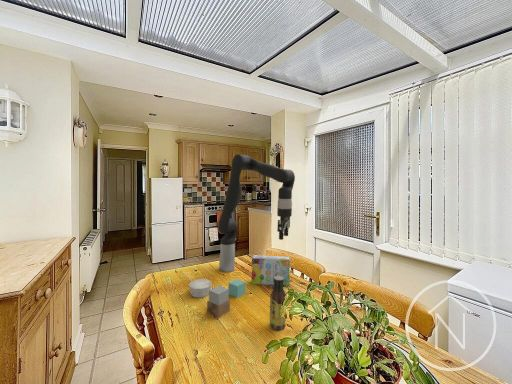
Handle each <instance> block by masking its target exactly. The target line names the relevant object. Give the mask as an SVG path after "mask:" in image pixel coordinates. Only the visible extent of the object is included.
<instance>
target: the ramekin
mask: <svg viewBox="0 0 512 384" xmlns="http://www.w3.org/2000/svg"><path fill="white" fill-rule="evenodd" d="M212 284H213V283H212V281H211V280H210V279H206V278H198V279H194V280H192V281H190V283H189V285H188V287H189V291H190V295H191V296H192V297H193V298H205V297H207V296H209V290H211V289H212V288H211V287H212Z"/></svg>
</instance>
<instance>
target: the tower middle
mask: <svg viewBox="0 0 512 384" xmlns="http://www.w3.org/2000/svg"><path fill="white" fill-rule="evenodd" d="M229 296H230V295H229V288H227V287H224V286H222V285H217V286H214V287H213V288H211V289H210V290H209V294H208V301H209V302H211V303H213V304H216V305H218V306H220V305H221V304H223V303H225V302H226V301H228V300H230V299H229Z"/></svg>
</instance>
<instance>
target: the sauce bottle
mask: <svg viewBox="0 0 512 384" xmlns="http://www.w3.org/2000/svg"><path fill="white" fill-rule="evenodd" d="M273 281H274V285H273V290H272V291H271V293H270V298H269V299H270V300H269V326H270V327H271V329H274V330H277V331H281V330H283V329H285V327H286V321H287V320H286V318H287V317H286V318H284V317H280V310H281V306H282V302H283V299H284V297H285V296H286V297H287V295H286V292H285V290H284V286H283V282H284V278H283V277H282V276H275V277H274V279H273Z"/></svg>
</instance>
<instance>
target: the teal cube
mask: <svg viewBox="0 0 512 384" xmlns="http://www.w3.org/2000/svg"><path fill="white" fill-rule="evenodd" d="M228 289H229V296H231V297H234V298H236V299H238V298H240V297H242V296H243V295H245V294H246V281H243V280H240V279H237V278H236V279H234V280H232V281H230V282H228Z"/></svg>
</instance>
